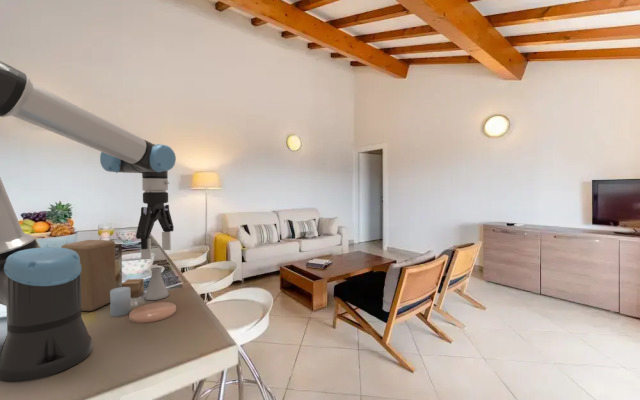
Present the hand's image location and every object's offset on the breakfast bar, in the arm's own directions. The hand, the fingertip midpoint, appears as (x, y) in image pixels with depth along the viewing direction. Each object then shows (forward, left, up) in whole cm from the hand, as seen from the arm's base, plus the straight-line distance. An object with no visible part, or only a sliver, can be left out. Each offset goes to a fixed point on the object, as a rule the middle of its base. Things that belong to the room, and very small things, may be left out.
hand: (157, 254), depth 102 cm
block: (-7, +17, -15) cm, 24 cm away
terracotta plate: (-14, -6, -15) cm, 21 cm away
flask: (0, 0, -15) cm, 15 cm away
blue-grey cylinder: (-13, +4, -15) cm, 20 cm away
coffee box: (+8, +22, -15) cm, 28 cm away
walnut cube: (+2, +9, -15) cm, 17 cm away
